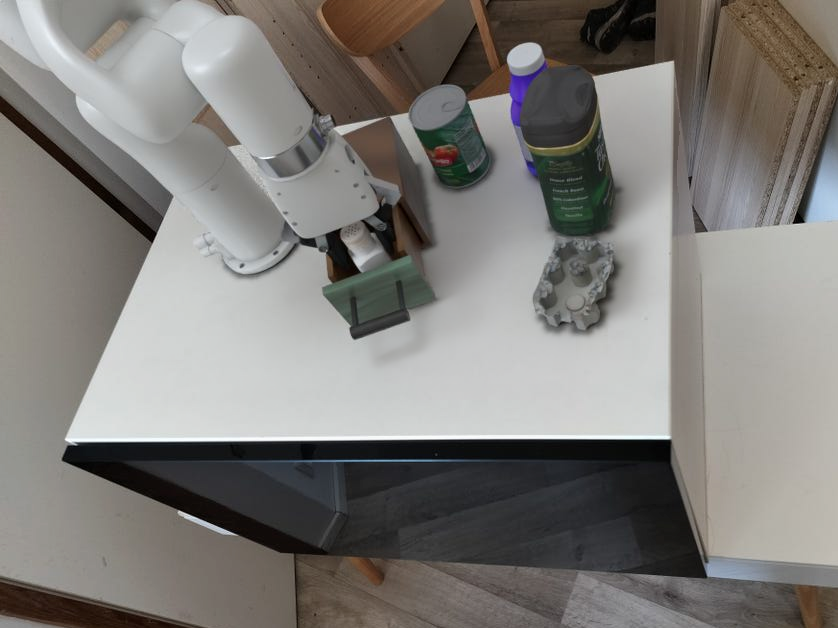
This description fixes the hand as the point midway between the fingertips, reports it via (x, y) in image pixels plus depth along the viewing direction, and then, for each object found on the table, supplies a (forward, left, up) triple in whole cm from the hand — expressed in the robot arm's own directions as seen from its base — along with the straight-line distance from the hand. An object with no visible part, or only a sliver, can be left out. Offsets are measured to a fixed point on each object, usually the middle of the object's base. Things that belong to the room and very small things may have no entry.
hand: (367, 252), depth 82 cm
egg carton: (+22, -11, -7) cm, 26 cm away
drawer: (0, -1, -6) cm, 6 cm away
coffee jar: (+27, +1, -7) cm, 28 cm away
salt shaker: (0, 0, -5) cm, 5 cm away
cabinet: (0, +12, -7) cm, 14 cm away
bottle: (+25, +10, -7) cm, 28 cm away
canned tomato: (+13, +16, -7) cm, 22 cm away
